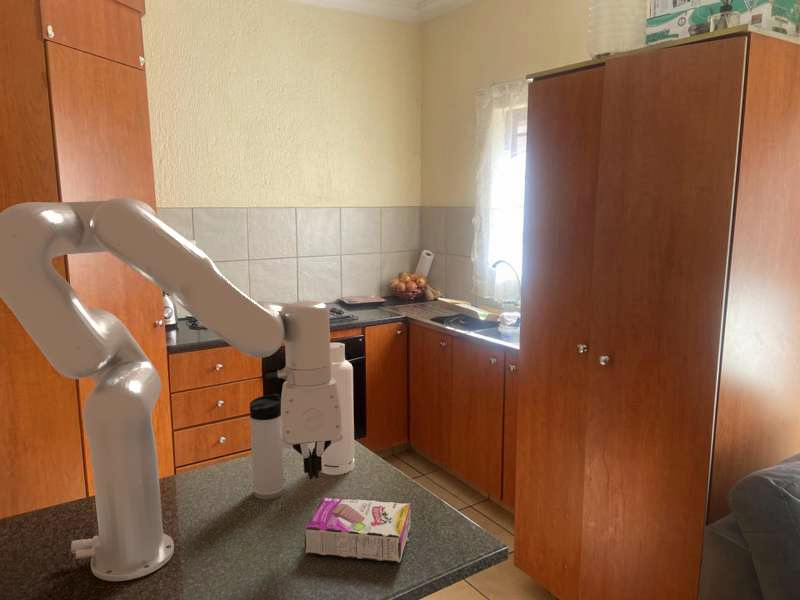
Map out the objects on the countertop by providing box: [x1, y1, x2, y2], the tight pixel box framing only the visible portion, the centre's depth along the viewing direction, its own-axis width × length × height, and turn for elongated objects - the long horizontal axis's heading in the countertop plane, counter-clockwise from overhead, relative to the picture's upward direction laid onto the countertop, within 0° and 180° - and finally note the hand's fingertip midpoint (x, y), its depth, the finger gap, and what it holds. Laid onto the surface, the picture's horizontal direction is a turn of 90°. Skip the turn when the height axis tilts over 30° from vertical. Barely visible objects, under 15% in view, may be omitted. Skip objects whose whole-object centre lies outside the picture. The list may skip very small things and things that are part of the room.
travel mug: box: [249, 393, 286, 501], centre depth 117 cm, size 6×7×20 cm
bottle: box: [320, 342, 355, 476], centre depth 128 cm, size 8×8×28 cm
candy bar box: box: [304, 496, 412, 564], centre depth 101 cm, size 11×5×16 cm
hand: (313, 475), depth 102 cm, fingers closed
